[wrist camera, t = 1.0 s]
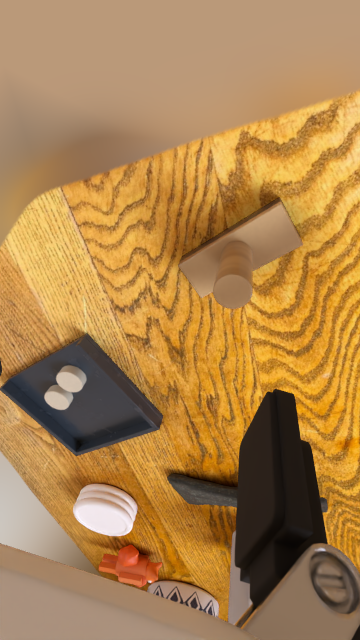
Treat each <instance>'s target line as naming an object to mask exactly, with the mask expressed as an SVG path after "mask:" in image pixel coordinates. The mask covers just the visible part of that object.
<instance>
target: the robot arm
mask: <svg viewBox="0 0 360 640" xmlns="http://www.w3.org/2000/svg"><path fill="white" fill-rule="evenodd" d="M1 373H2V366H1V360H0V376H1ZM234 561H235V566H236V567H238V568H240V581H242V582H245V583H248V584H250V599H251V601H252V604H251V605H250V606H249V608H248V609H247V610H246V611H245V613H244V614H243V615H242V616H241V617H240V619H239V620H238V621H237V622H236V623H235V625H233V624H231V623H229V622H226V621H224V620H222V619H219V618H217V617H214V616H212V615H210V614H207V613H205V612H202V611H200V610H197V609H194V608H191V607H188V606H186V605H183V604H180V603H177V602H174V601H171V600H169V599H166V598H163V597H160V596H157V595H154V594H152V593H149V592H146V591H143V590H140V589H137V588H134V587H131V586H128V585H125V584H122V583H119V582H116V581H113V580H110V579H107V578H104V577H101V576H98V575H95V574H92V573H89V572H86V571H83V570H80V569H77V568H74V567H71V566H68V565H65V564H62V563H58V562H55V561H53V560H50V559H47V558H43V557H40V556H37V555H34V554H31V553H28V552H25V551H22V550H19V549H16V548H13V547H10V546H7V545H3V544H1V543H0V640H360V574H359V572H358V570H357V568H356V567H355V566H354V564H353V563H352V562H351V561H350V559H349V558H348V557H347V556H346V555H344V554H343V553H342V552H341V551H340V550H338V549H336V548H335V547H333V546H331V545H328V544H327V538H326V532H325V526H324V520H323V514H322V508H321V502H320V496H319V490H318V484H317V478H316V472H315V466H314V460H313V454H312V449H311V446H310V444H309V443H308V442H306V441H303V440H301V439H300V431H299V424H298V417H297V410H296V402H295V397H294V394H292V393H288V392H285V391H281V390H278V389H275V390H274V391H273V392H267V393H266V395H265V397H264V399H263V401H262V403H261V404H260V406H259V408H258V410H257V412H256V414H255V416H254V418H253V420H252V422H251V424H250V426H249V428H248V430H247V432H246V434H245V436H244V438H243V439H242V442H241V445H240V451H239V471H238V493H237V515H236V536H235V560H234Z"/></svg>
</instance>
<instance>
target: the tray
mask: <svg viewBox="0 0 360 640" xmlns="http://www.w3.org/2000/svg"><path fill="white" fill-rule="evenodd" d="M67 365H72V366H75V367H78V368H79V369H81V370H82V371H83V372H84V373H85V375H86V383H85V384H84V386H83V387H82V389H81V390H80V391H78V392H71V393H72V395H73V400H72V402H71V403H70V405H69V407H68V408H67V409H65V410H58V409H55V408H53V407H51V406H50V405H49V404H48V403H47V402H46V401H45V398H44V396H45V393H46V392H47V391H48V389H49V388H50V387H51V386H53V385H59V384H58V383H57V381H56V376H57V374H58V373H59V371H60V370H61V369H62V368H63V367H64V366H67ZM0 390H1V391H2V392H3V393H4V394H5V395H6V396H8V397H9V398H10V399H11V400H12V401H13V402H14V403H16V404H17V405H18V406H19V407H20V408H21V409H23V410H24V411H25V412H26V413H27V414H28V415H29V416H31V417H32V418H33V419H34V420H35V421H36V422H38V423H39V424H40V425H41V426H42V427H43V428H44V429H46V430H47V431H48V432H49V433H50V434H51V435H53V436H54V437H55V438H56V439H57V440H58V441H59V442H61V443H62V444H63V445H64V446H65V447H66V448H68V449H69V450H70V451H71V452H72V453H73V454H74V455H76V456H78V455H81V454H84V453H87V452H91V451H94V450H97V449H100V448H103V447H106V446H109V445H112V444H115V443H118V442H122V441H125V440H128V439H131V438H134V437H137V436H140V435H143V434H146V433H150V432H153V431H156V430H159V429H160V425H161V422H162V418H163V415H162V414H161V413H160V412H159V411H158V410H157V408H156V407H155V406H154V405H153V404H152V403H151V402H150V401H149V400H148V399H147V398H146V397H145V395H144V394H143V393H142V392H141V391H140V390H139V389H138V388H137V387H136V386H135V385H134V384H133V382H132V381H131V380H130V379H129V378H128V377H127V376H126V375H125V374H124V373H123V372H122V371H121V369H120V368H119V367H118V366H117V365H116V364H115V363H114V362H113V361H112V360H111V359H110V358H109V356H108V355H107V354H106V353H105V352H104V351H103V350H102V349H101V348H100V347H99V346H98V345H97V343H96V342H95V341H94V340H93V339H92V338H91V337H90V336H89V335H88V334H85V335H83V336H82V337H80V338H78V339H76V340H75V341H73V342H71V343H69V344H68V345H66V346H64V347H62V348H61V349H59V350H57V351H55V352H54V353H52V354H50V355H48V356H47V357H45V358H43V359H41V360H40V361H38V362H36V363H34V364H33V365H31V366H29V367H27V368H26V369H24V370H22V371H20V372H19V373H17V374H15V375H13V376H12V377H10V378H9V379H8V380H7V381H6V382H5V383H4V384H3V385H2V386H1V387H0Z"/></svg>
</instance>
